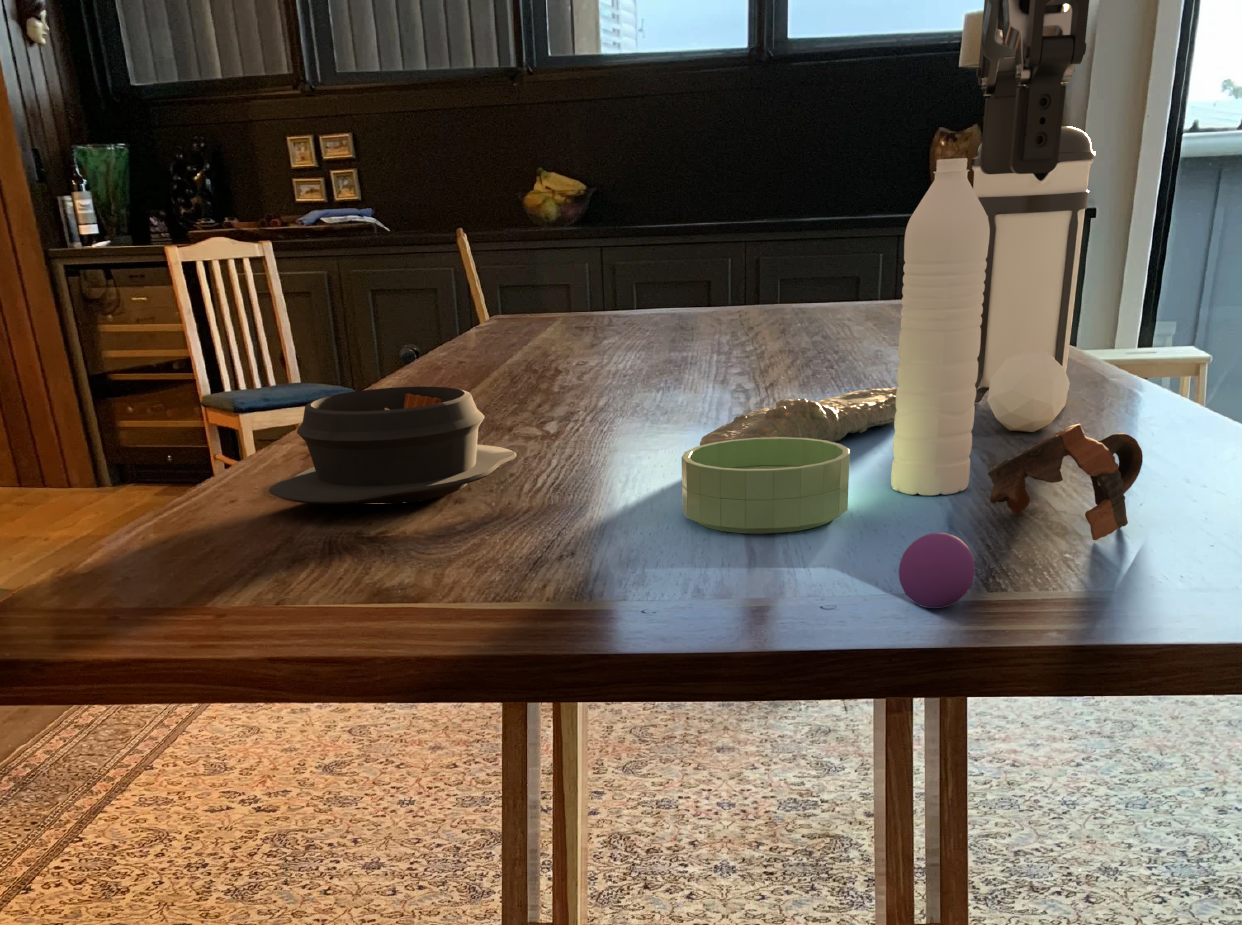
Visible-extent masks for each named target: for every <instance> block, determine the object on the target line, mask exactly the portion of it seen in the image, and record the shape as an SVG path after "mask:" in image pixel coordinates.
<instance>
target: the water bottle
mask: <svg viewBox="0 0 1242 925" xmlns="http://www.w3.org/2000/svg"><path fill="white" fill-rule="evenodd" d="M935 165H936V171H933V174H934V180H933V181H932V183H931V184H930V186H929V188H928V190H927V191H926V192H925V194H924V195H923V197H922V199H920V202H919V203H918V205H917V207H916V208H915V210H914V211H913V213H912V215H911V216H910V218H909V220H908V222H907V225H906V228H905V232H904V242H903V261H904V264H903V271H902V272H903V273H904V274H903V276H902V283H903V285H902V288H901V294H902V298H901V306H902V308H901V309H900V316H901V319H900V321H899V322H900V323H899V325H900V328H901V329H900V330H899V337H898V338H899V339H898V350H897V351H898V355H897V356H898V359H899V361H898V364H897V372H896V383H897V388H898V389H897V391H896V410H897V411H896V414H895V421H894V423H893V424H894V425H893V426H894V427H893V428H894V431H895V433H894V435H893V442H892V454H893V456H894V457H893V458H892V461H891V474H890V486H891V488H892V489H893V490H894V491H896V492H900V493H902V494H906V495H917V494H919V495H920V496H938V495H945V496H946V495H952V494H953V495H954V494H957V493H959V492H963V491H965V490H966V489H967V488H968V487H969V483H970V474H971V472H970V471H971V459H970V455H971V454H972V446H973V433H972V430H973V428H974V422H975V408H976V407H975V402H974V401H975V398H976V387H975V383H976V382H977V376H978V361H977V357H978V356H979V352H980V342H981V328H980V325H981V323H982V317H981V314H982V312H983V306H982V303H983V301H984V295H983V292H984V289H985V284H984V281H985V278H986V273H985V269H986V266H987V262H986V258H987V254H988V246H989V236H990V227H989V221H988V217H987V214H986V212H985V210H984V208H983V207H982V205H981V203H980V201H979V199H978V197H977V195H976V194H975V192H974V190H973V186H972V184H971V182H970V181H969V178H968V173H969V172H970V169H968V168H967V167H968V158H967V157H960V158H958V157H957V158H946V159H945V158H943V159H936V164H935Z"/></svg>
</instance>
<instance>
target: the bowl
mask: <svg viewBox="0 0 1242 925" xmlns="http://www.w3.org/2000/svg"><path fill="white" fill-rule="evenodd" d="M850 454H851V450H850V447H849V448H848V447H847V446H845V444H844V445H843V444H842V443H838V442H835V441H834V442H830V441H826V440H818V439H810V438H791V437H767V438H748V439H735V440H728V441H721V442H714V443H710V444H706V445H702V446H700V445H697V446H695V447H692V448H691V449H688V450H686V451H684V453H683V454H682V456H681V492H682V493H681V495H682V497H681V498H682V514H684V515H685V517H686V518H687V519H689V520H692V521H693V522H696V523H697V524H699V525H700V526H702V527H705V528H707V529H711V530H714V531H719V532H725V531H726V533H736V534H753V535H755V534H756V535H758V534H759V535H761V534H763V535H764V534H765V535H766V534H782V533H792V532H800V531H804V530H805V531H806V530H810V529H814V528H818V527H821V526H824V525H826V524H828V523H830V522H832V521H833V520H834V519H836V518H838V517H841V516H842V515H844V513H846V512H847V511H848V509H849V508H848V507H849V480H850Z"/></svg>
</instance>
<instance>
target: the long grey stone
mask: <svg viewBox="0 0 1242 925" xmlns="http://www.w3.org/2000/svg"><path fill="white" fill-rule="evenodd" d="M897 389H898V387H889V388H871V389H868V390H856V391H855V390H854V391H850V392H847V393H843V394H841V395H839V396H834V397H829V398H824V399H820V400H816V401H814V400H807V399H806V398H805V397H803V398H801V399H799V398H796V399H790V398H785V399H780V400H778V401H775V406H776V407H770V408H765V407H764V408H763V407H762V408H760V409H757V410H754V411H752V412H749V413H746V414H742V415H739V416H735V417H734V418H733V420H732V421H731V422H728V423H726V424H724V425H721V426H720V427H718V428H716V429H714V430H713V431H710V432H709V433H707V434H705V435H704V436H702V437H701V440H700V441H699V446H702V445H706V444H710V443H714V442H721V441H728V440H735V439H748V438H767V437H791V438H810V439H818V440H826V441H830V442H834V443H835V442H839V441H841V439H843V438H845V437H846V436H847V434H848V433H850V434H854V433H859V434H862V433H864V432H866V431H867V430H868V429H869V428H871V427H872V428H873V427H876V426H877V427H881V426H884V425H889V424H894V421H895V414H896V411H897V410H896V391H897Z"/></svg>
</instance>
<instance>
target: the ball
mask: <svg viewBox="0 0 1242 925" xmlns="http://www.w3.org/2000/svg"><path fill="white" fill-rule="evenodd" d="M975 571H976V565H975V559H974V555H973V553H972V552H971V550H970V547H969V546H968V545H967V544H966V542H964V541H963V540H961V539H960V538H959V537H957V536H955V535H953V534H950V533H945V532H932V533H927V534H925V535H922V536H920V537H918V538H916V539H915V540H914V541H912V542H911V544H910V545H909V546H908V547H907V548H906V549H905V550H904V552H903V554H902V555H901V559H900V562H899V564H898V578H899V579H898V581H899V584H900V586H901V588H902V591H903V592H904V594H905V595H906V596H907V597H908V598H909V599H910V601H912V602H913V603H915V604H917V605H918V606H921V607H924V608H928V609H942V608H947V607H948V606H951V605H953V604H956V603H957V602H958V601H959V600H961V599H962V598H963V597H964V596H965V595H966V594H967V593H968V591H969V589H970V588H971V587H972V584H973V582H974V578H975V573H976V572H975Z"/></svg>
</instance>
